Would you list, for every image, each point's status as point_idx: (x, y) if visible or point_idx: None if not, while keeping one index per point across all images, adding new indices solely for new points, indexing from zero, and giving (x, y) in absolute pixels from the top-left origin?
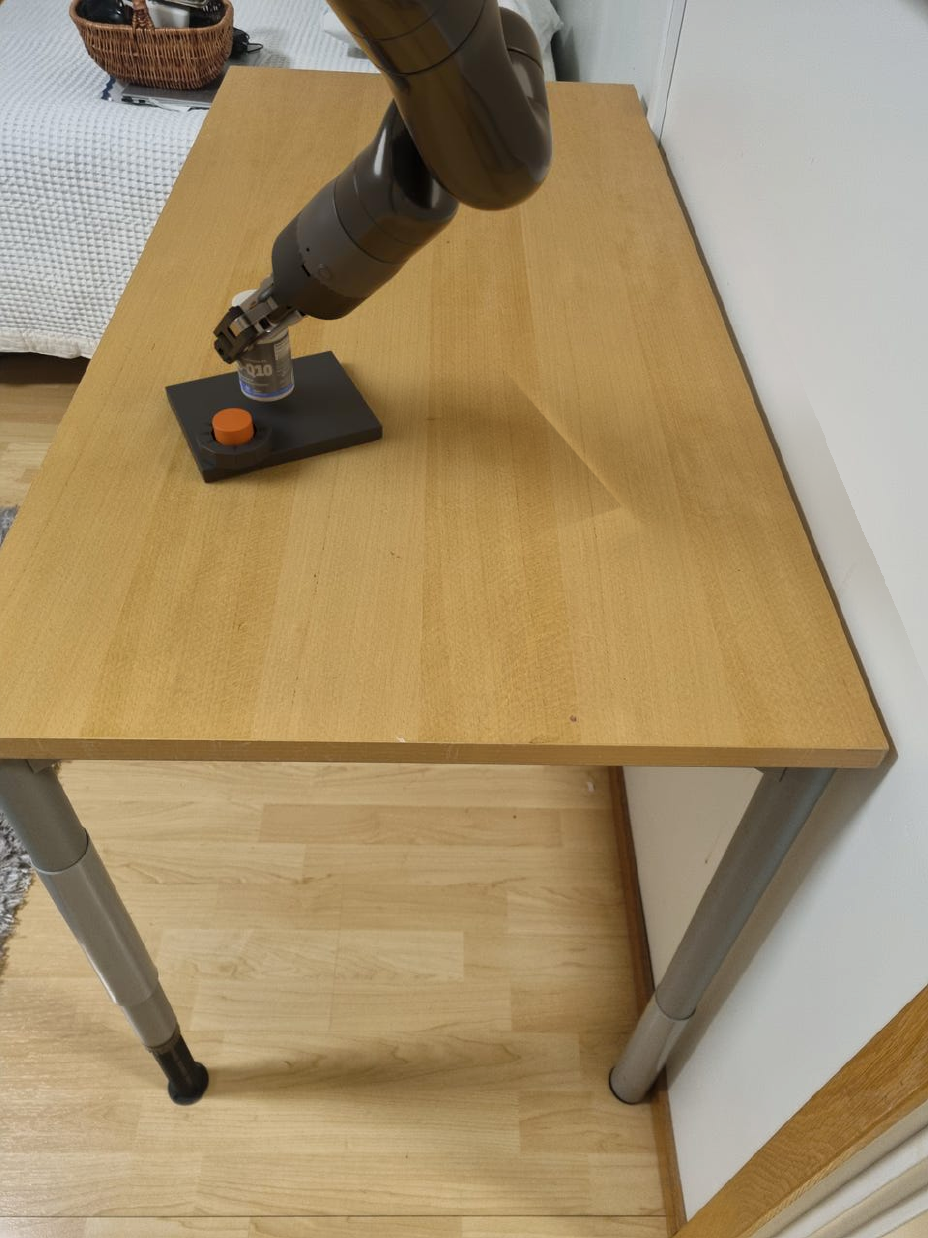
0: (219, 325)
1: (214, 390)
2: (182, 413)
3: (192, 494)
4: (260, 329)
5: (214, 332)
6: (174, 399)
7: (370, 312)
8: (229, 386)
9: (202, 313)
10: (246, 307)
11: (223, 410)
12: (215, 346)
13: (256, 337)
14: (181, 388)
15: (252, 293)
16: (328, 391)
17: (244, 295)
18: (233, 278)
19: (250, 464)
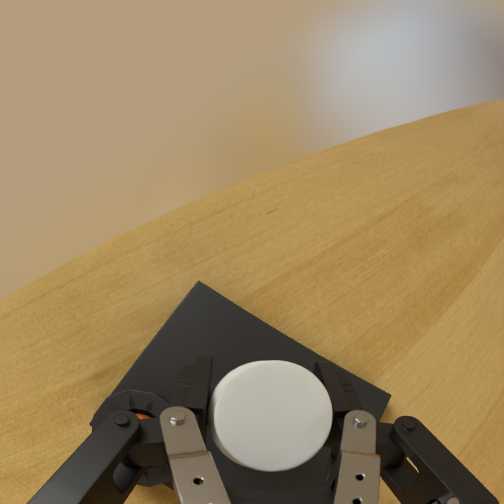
0: (72, 456)
1: (226, 338)
2: (163, 335)
3: (77, 420)
4: (177, 500)
5: (104, 421)
6: (181, 308)
7: (469, 351)
8: (245, 348)
9: (351, 212)
10: (172, 475)
11: (142, 418)
12: (177, 374)
13: (173, 486)
14: (206, 299)
15: (296, 387)
16: (317, 460)
17: (276, 379)
18: (409, 200)
19: None
